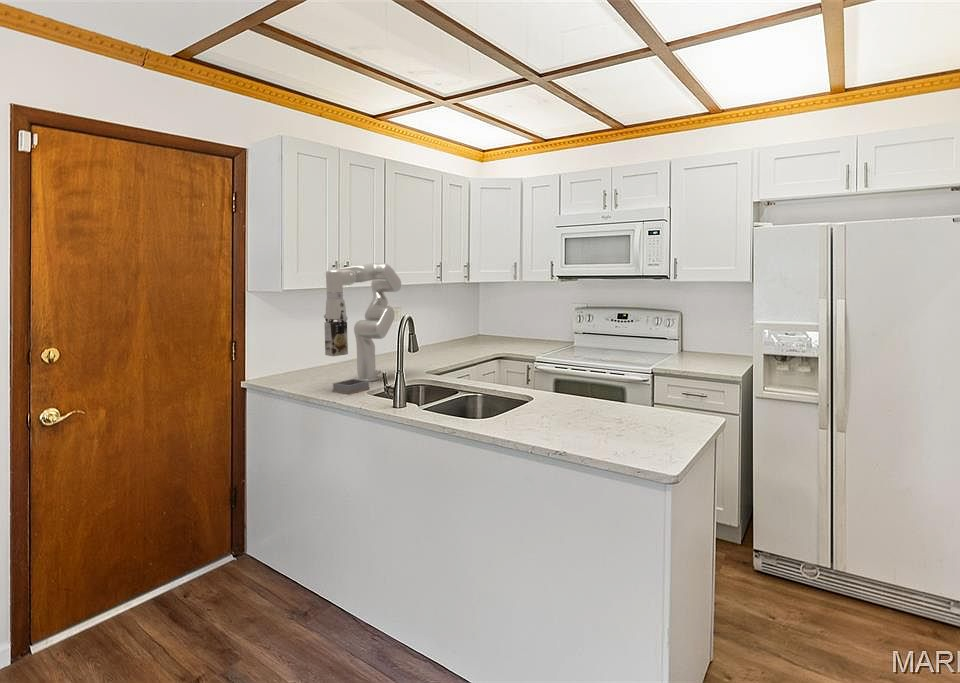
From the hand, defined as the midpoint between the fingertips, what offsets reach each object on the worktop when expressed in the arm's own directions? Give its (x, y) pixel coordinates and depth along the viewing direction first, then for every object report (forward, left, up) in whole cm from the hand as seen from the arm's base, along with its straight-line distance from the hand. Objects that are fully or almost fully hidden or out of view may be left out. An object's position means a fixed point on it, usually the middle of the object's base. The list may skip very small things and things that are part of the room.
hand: (336, 332), depth 273 cm
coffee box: (0, 0, -11) cm, 11 cm away
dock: (-1, +8, -27) cm, 29 cm away
